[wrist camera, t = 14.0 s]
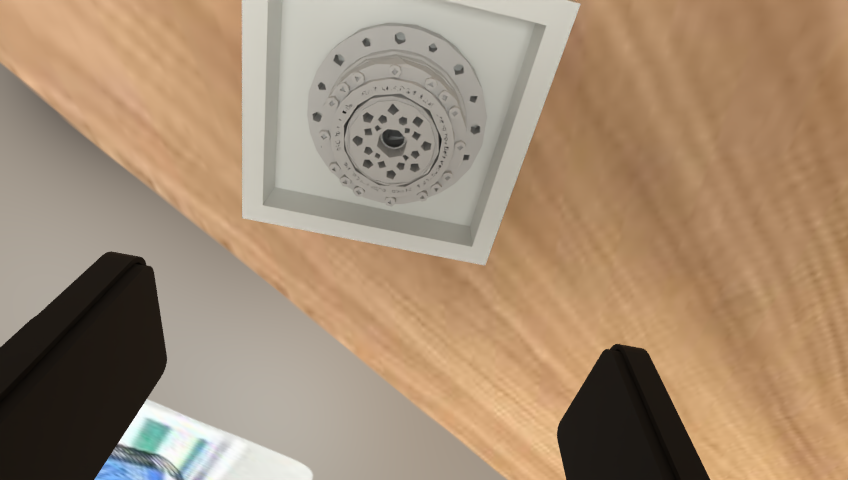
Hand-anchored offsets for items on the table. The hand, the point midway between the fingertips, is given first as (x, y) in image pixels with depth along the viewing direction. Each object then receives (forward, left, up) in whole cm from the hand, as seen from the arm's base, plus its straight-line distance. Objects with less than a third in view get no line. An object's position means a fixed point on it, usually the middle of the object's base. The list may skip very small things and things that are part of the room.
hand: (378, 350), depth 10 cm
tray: (+1, +1, -20) cm, 20 cm away
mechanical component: (+1, +2, -20) cm, 20 cm away
